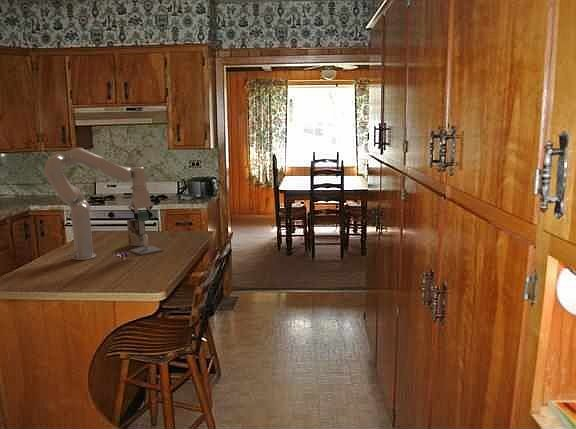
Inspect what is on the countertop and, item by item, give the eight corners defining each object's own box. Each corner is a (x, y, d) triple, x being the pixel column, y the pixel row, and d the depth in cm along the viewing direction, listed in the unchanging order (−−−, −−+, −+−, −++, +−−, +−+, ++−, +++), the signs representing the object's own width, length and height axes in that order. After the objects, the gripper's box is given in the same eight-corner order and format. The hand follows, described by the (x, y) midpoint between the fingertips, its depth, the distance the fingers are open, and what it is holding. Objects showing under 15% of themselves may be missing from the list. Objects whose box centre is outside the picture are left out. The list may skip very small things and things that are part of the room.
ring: (139, 221, 283) (138, 214, 282) (134, 220, 288) (134, 212, 287) (150, 220, 287) (149, 212, 287) (145, 218, 292) (144, 211, 292)
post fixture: (140, 255, 283) (139, 238, 282) (130, 251, 294) (128, 234, 292) (162, 251, 293) (161, 234, 291) (151, 247, 303) (150, 231, 301)
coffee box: (146, 244, 312) (145, 219, 309) (140, 246, 306) (139, 220, 303) (134, 243, 315) (132, 218, 312) (128, 245, 309) (126, 220, 306)
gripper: (127, 190, 276) (130, 221, 279) (156, 187, 287) (159, 217, 290) (122, 189, 282) (125, 220, 285) (150, 186, 293) (153, 215, 296)
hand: (142, 218), depth 288 cm, fingers closed on ring, 6 cm apart
